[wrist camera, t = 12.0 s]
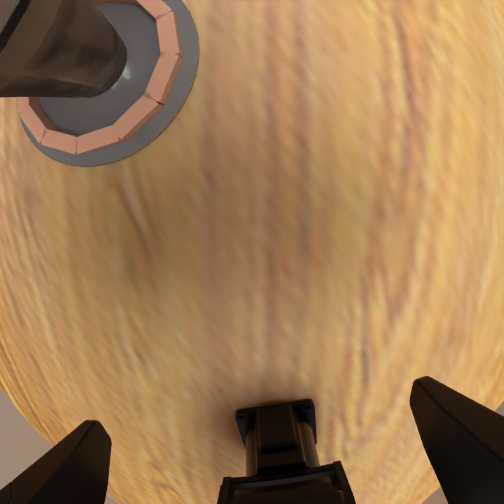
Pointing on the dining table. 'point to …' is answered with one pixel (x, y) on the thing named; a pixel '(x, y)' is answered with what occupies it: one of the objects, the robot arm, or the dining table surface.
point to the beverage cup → (57, 49)
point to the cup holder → (122, 89)
